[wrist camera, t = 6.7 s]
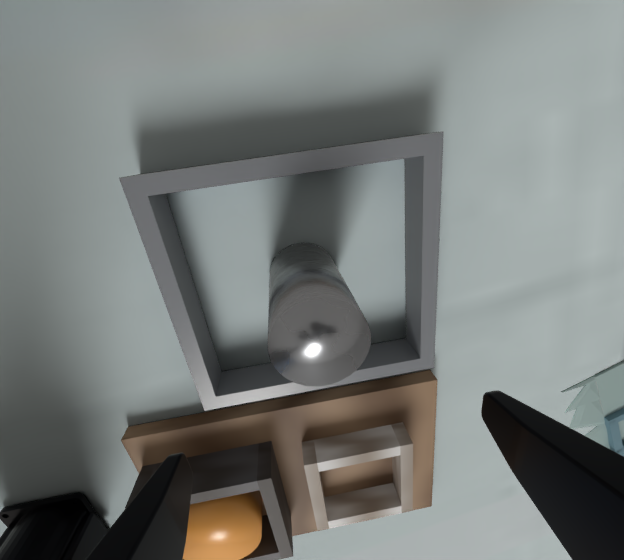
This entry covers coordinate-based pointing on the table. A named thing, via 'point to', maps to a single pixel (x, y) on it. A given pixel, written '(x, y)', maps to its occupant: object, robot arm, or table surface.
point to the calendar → (602, 407)
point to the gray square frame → (153, 186)
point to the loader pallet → (306, 455)
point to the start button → (224, 528)
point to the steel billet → (313, 319)
